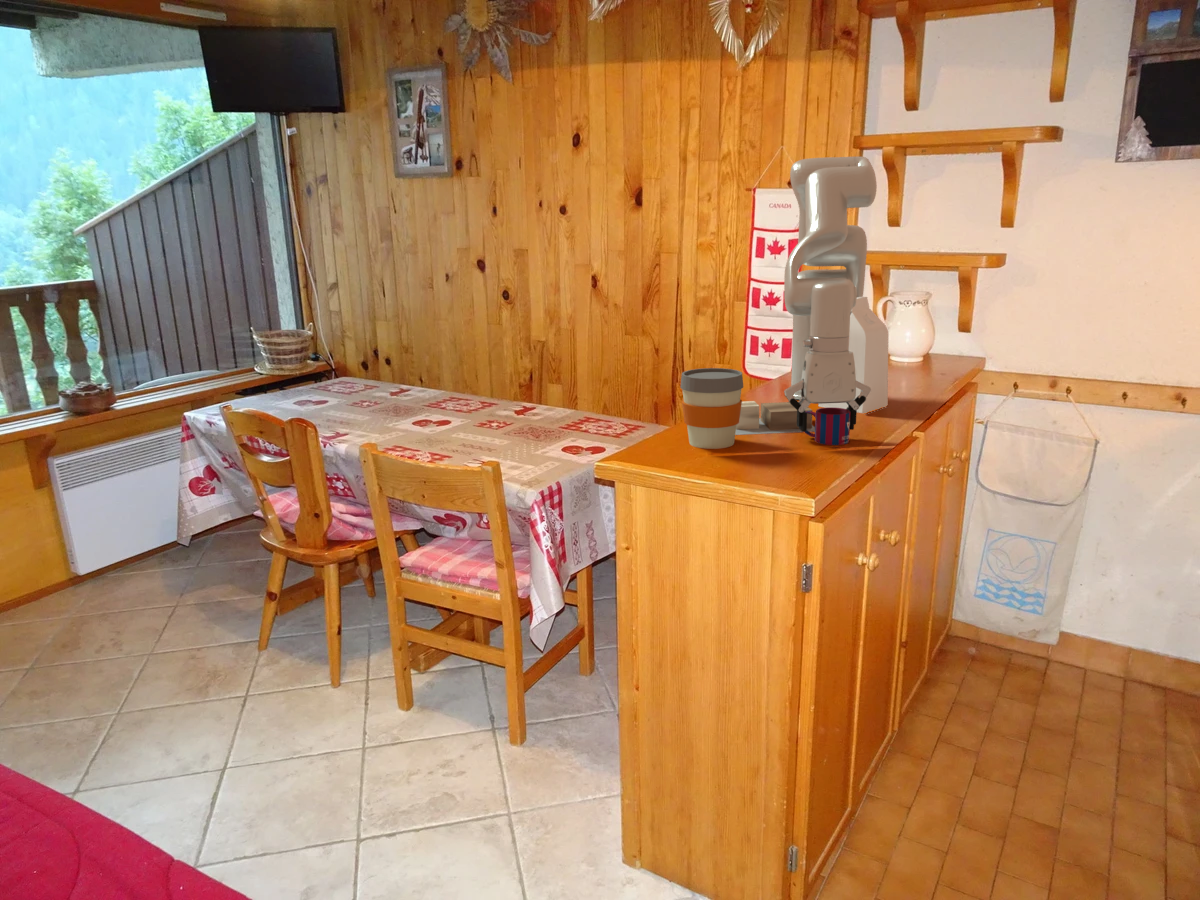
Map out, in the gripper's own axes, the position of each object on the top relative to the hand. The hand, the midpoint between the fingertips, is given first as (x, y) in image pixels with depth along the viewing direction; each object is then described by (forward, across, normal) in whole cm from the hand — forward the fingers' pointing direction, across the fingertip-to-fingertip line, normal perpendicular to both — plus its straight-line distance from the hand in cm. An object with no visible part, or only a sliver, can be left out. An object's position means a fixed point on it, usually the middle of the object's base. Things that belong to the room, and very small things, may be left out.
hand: (826, 429), depth 172 cm
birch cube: (+2, -13, +14) cm, 20 cm away
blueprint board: (+3, -8, +14) cm, 17 cm away
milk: (+3, +16, +30) cm, 34 cm away
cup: (+3, 0, 0) cm, 3 cm away
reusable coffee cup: (+3, -23, +2) cm, 23 cm away
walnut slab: (+2, -4, +14) cm, 15 cm away
